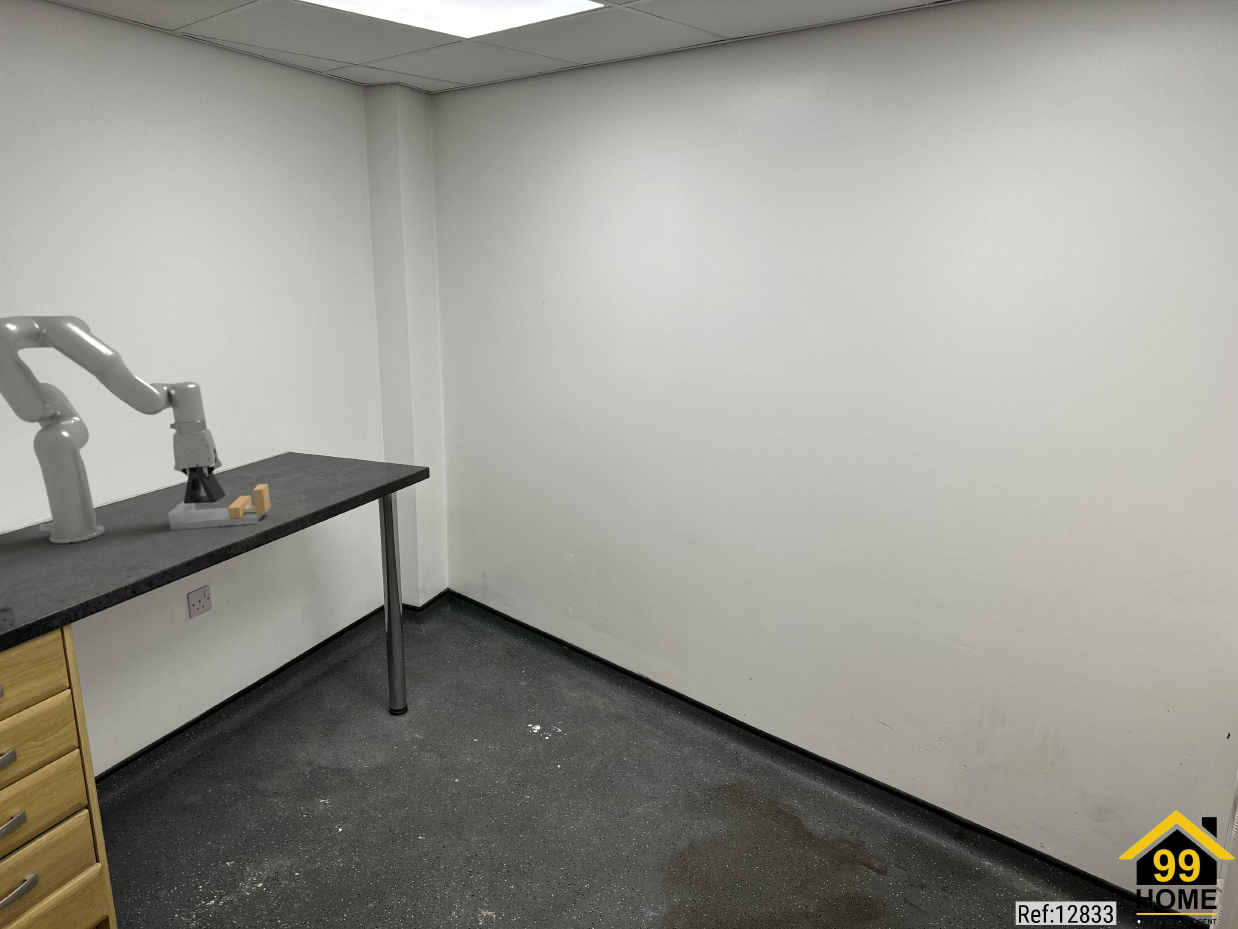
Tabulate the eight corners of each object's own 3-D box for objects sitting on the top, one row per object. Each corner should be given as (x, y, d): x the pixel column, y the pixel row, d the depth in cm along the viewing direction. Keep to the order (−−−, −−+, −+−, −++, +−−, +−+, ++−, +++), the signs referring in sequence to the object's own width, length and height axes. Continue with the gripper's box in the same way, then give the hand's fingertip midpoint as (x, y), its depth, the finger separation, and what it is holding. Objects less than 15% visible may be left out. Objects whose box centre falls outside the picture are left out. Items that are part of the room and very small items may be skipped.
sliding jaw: (229, 518, 217) (225, 494, 216) (241, 505, 229) (237, 483, 227) (263, 515, 219) (259, 492, 217) (273, 503, 230) (270, 481, 229)
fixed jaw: (169, 523, 215) (168, 513, 214) (185, 510, 226) (183, 500, 226) (181, 522, 215) (179, 512, 215) (196, 509, 227) (194, 500, 226)
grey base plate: (171, 530, 215) (169, 523, 215) (186, 517, 227) (185, 510, 226) (256, 523, 219) (255, 517, 219) (267, 511, 231) (266, 504, 230)
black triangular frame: (183, 503, 218) (175, 462, 215) (194, 497, 224) (186, 457, 221) (215, 502, 218) (208, 461, 215) (225, 495, 224) (218, 456, 221)
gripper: (155, 431, 210) (167, 495, 215) (217, 427, 213) (228, 491, 218) (165, 426, 218) (176, 488, 222) (225, 422, 220) (235, 484, 225)
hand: (202, 489), depth 220 cm, fingers closed on black triangular frame
